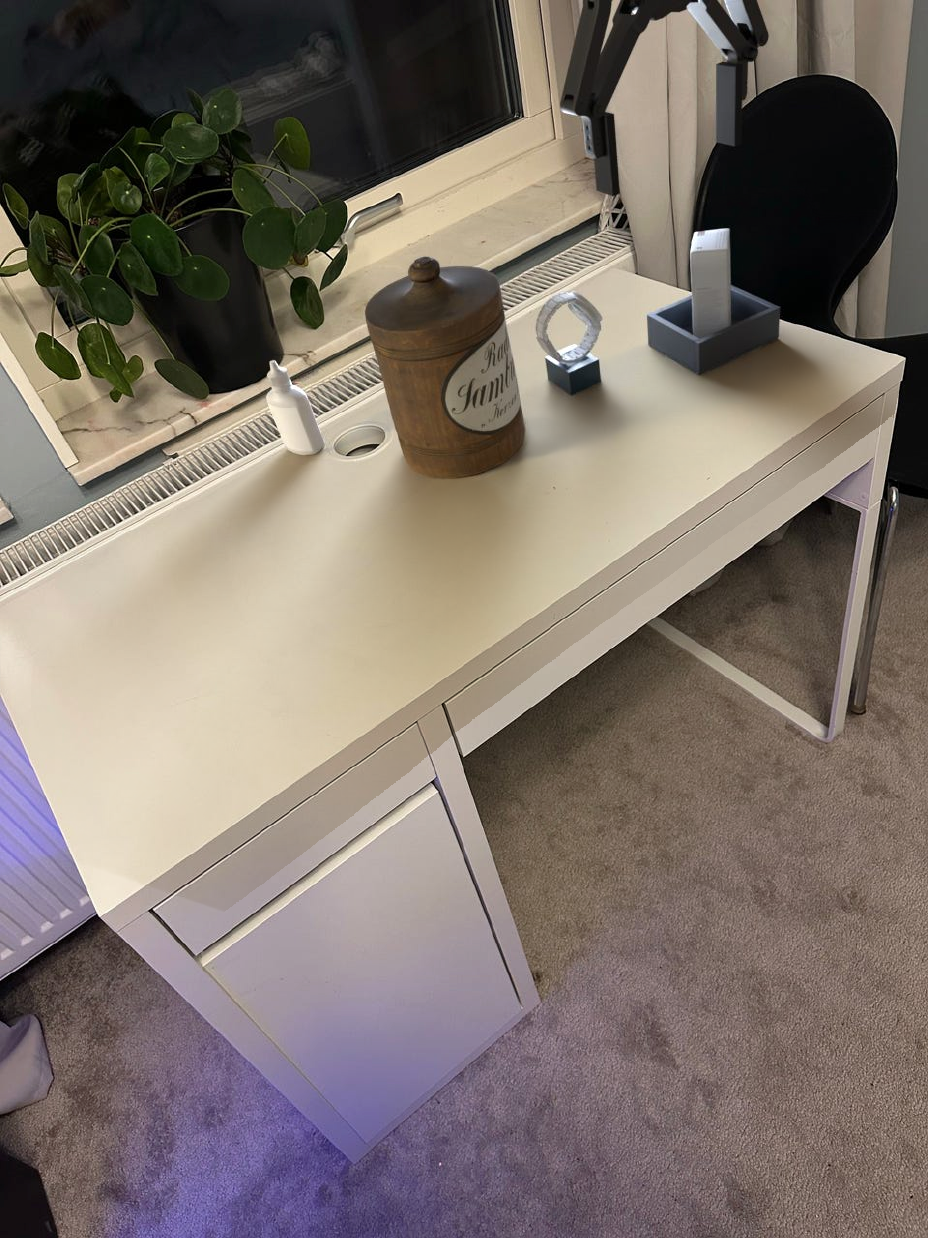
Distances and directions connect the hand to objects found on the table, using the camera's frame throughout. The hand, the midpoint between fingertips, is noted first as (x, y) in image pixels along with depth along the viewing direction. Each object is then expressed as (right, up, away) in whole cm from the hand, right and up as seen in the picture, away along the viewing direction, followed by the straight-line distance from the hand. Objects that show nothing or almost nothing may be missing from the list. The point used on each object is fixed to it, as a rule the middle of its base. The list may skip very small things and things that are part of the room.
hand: (669, 167), depth 79 cm
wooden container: (-19, -21, +22) cm, 36 cm away
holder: (+12, -8, +26) cm, 30 cm away
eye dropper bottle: (-39, -20, +28) cm, 53 cm away
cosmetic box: (+12, -7, +26) cm, 30 cm away
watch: (-5, -12, +27) cm, 30 cm away
